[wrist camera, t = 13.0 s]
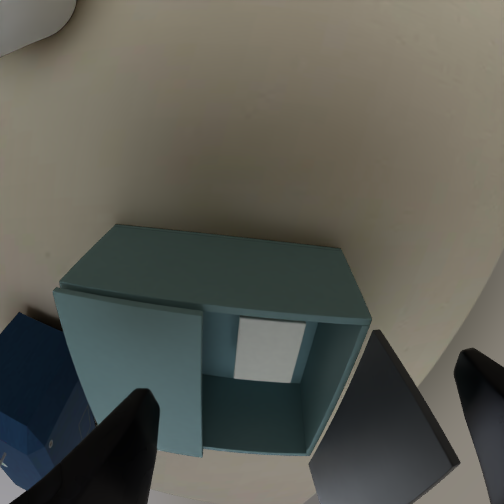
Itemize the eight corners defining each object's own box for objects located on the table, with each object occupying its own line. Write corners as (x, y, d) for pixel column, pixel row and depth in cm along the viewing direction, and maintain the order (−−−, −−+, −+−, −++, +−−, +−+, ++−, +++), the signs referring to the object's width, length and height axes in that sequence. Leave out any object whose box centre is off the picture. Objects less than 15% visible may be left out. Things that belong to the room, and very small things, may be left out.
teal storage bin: (341, 248, 20) (377, 330, 13) (303, 382, 26) (310, 465, 19) (115, 224, 20) (50, 290, 13) (132, 362, 26) (102, 436, 19)
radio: (15, 298, 24) (-104, 459, 6) (94, 332, 25) (-8, 540, 7) (44, 416, 33) (-7, 531, 15) (101, 440, 34) (60, 567, 16)
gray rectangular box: (302, 296, 22) (306, 323, 19) (288, 354, 24) (290, 383, 21) (242, 290, 22) (239, 317, 19) (236, 350, 24) (233, 378, 21)
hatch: (372, 329, 13) (379, 328, 13) (308, 463, 19) (313, 463, 19) (452, 466, 7) (461, 462, 7) (333, 551, 12) (339, 549, 12)
